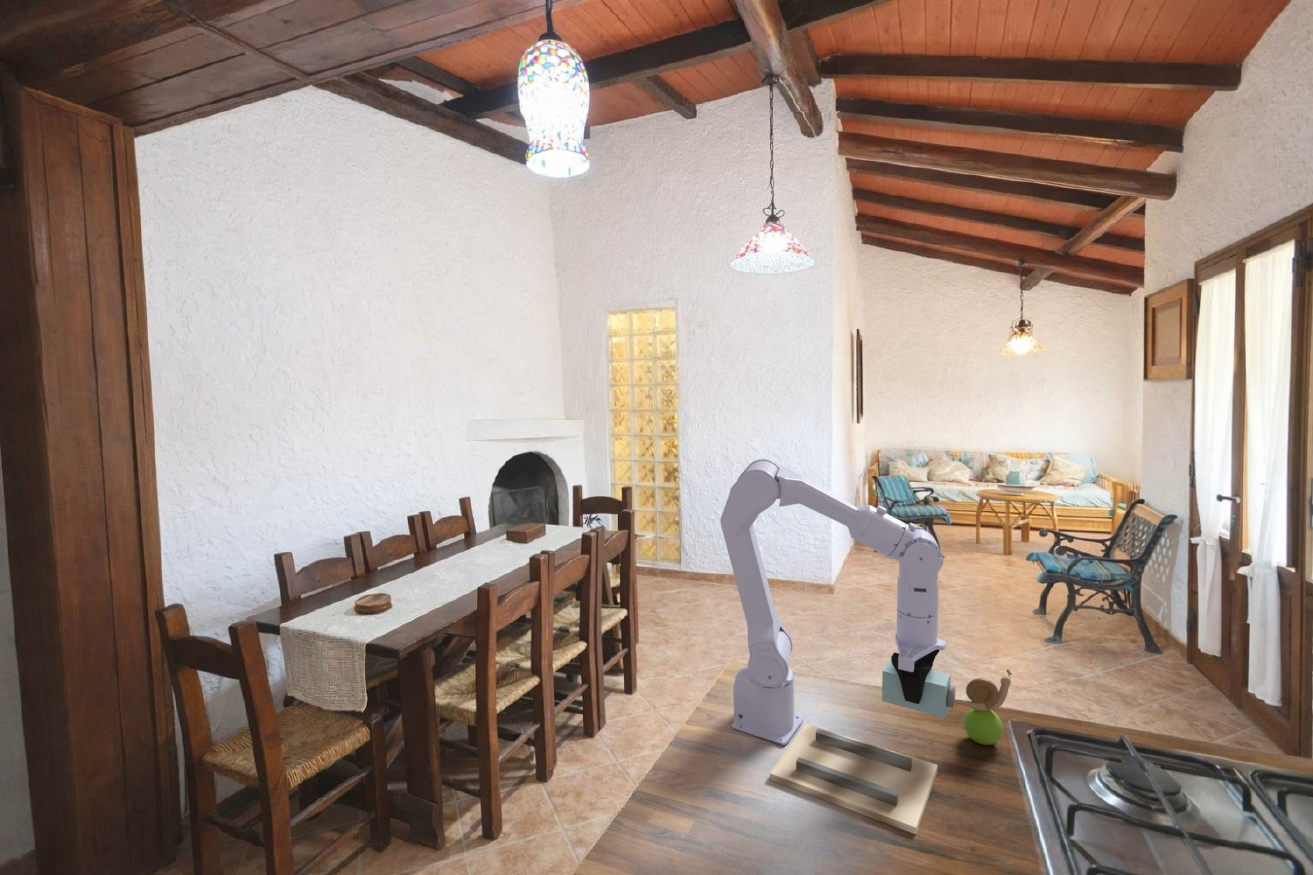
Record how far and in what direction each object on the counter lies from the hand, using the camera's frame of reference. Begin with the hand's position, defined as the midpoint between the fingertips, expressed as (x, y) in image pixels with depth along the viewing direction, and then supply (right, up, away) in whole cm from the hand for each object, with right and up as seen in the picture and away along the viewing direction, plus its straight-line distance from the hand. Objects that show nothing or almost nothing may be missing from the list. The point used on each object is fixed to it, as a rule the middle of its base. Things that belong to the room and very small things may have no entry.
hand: (915, 694), depth 96 cm
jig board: (-11, -10, -5) cm, 16 cm away
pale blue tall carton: (0, -1, 0) cm, 1 cm away
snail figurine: (+11, -8, +1) cm, 14 cm away
